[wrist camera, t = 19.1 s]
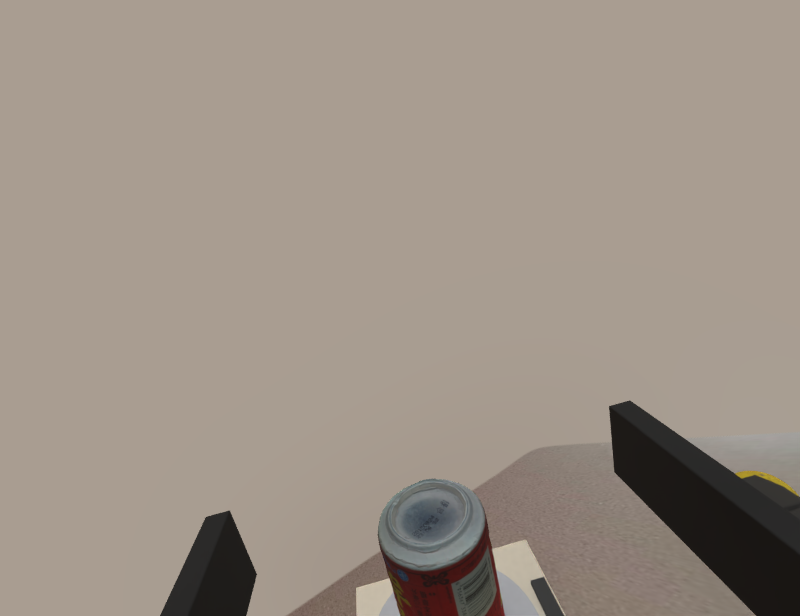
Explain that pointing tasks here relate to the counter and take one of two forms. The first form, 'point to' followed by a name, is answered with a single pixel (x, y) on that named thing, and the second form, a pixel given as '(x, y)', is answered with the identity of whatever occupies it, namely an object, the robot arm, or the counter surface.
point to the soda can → (439, 552)
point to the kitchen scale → (518, 580)
